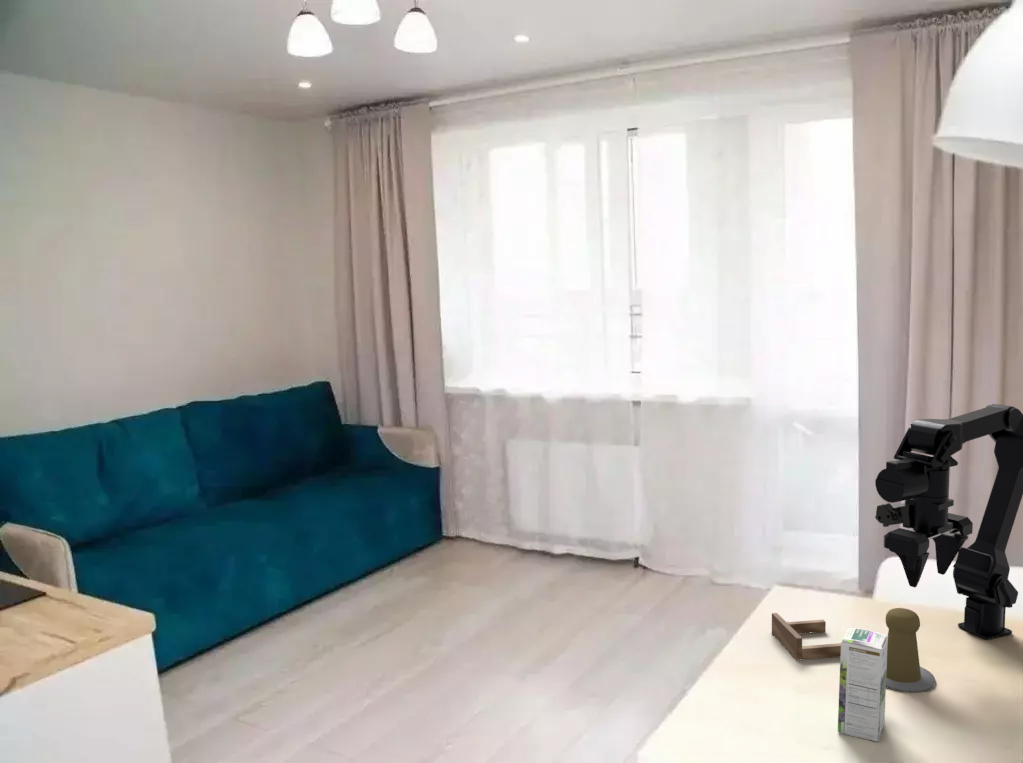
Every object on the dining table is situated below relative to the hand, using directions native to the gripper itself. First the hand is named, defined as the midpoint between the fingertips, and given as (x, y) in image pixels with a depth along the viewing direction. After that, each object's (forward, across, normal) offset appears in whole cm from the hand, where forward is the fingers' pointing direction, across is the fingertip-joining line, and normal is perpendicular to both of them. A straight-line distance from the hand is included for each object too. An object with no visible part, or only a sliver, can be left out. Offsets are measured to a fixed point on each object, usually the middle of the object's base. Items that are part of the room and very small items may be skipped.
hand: (927, 580), depth 151 cm
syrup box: (+13, +31, +8) cm, 35 cm away
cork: (+13, +12, +3) cm, 18 cm away
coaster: (+13, +12, +3) cm, 18 cm away
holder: (+13, +13, -14) cm, 23 cm away
